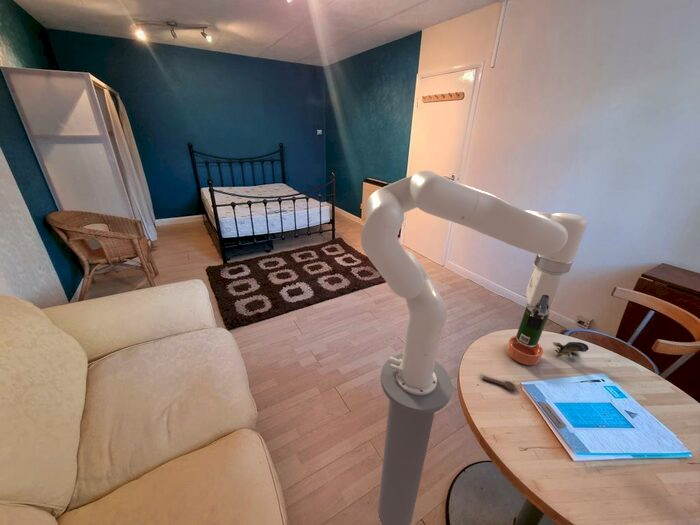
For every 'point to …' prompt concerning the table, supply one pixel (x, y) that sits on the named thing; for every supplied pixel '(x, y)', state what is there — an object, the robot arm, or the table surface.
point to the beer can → (527, 334)
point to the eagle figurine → (570, 348)
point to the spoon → (501, 383)
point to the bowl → (524, 352)
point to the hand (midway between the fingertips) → (531, 321)
